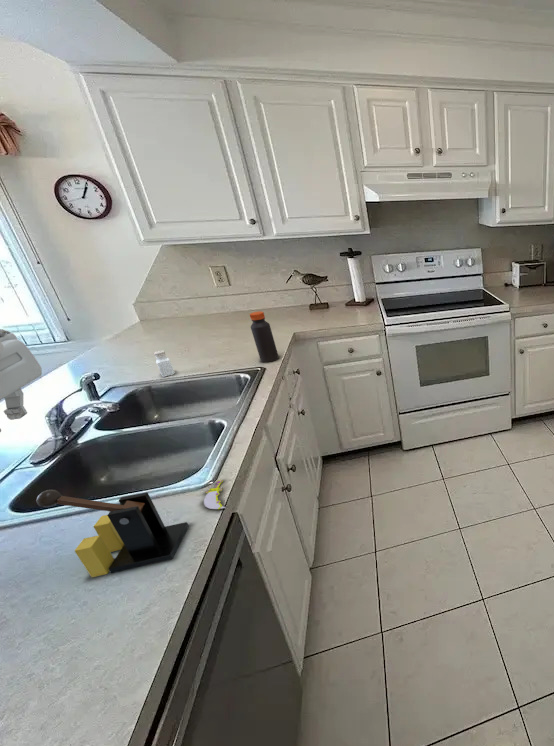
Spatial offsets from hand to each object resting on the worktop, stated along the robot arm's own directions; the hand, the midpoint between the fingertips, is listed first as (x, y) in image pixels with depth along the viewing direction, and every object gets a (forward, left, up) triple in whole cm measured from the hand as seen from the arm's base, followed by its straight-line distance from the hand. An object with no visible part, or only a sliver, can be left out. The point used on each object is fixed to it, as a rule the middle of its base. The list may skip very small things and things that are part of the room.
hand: (6, 426), depth 67 cm
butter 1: (+3, +3, -31) cm, 31 cm away
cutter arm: (+4, 0, -19) cm, 20 cm away
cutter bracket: (+10, 0, -31) cm, 33 cm away
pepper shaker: (-22, +99, -31) cm, 106 cm away
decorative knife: (+18, +13, -31) cm, 38 cm away
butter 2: (+3, -3, -31) cm, 31 cm away
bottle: (+14, +101, -31) cm, 107 cm away
